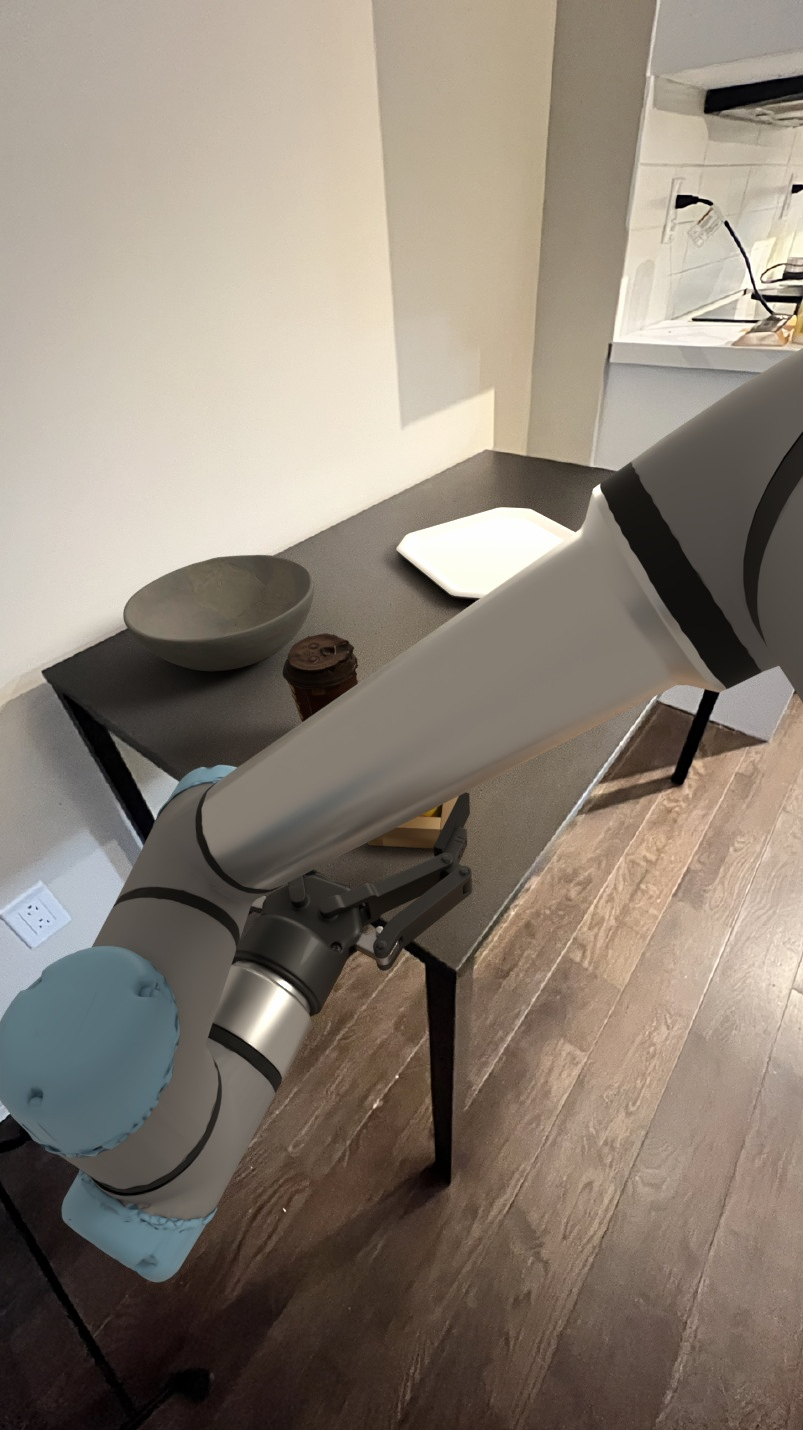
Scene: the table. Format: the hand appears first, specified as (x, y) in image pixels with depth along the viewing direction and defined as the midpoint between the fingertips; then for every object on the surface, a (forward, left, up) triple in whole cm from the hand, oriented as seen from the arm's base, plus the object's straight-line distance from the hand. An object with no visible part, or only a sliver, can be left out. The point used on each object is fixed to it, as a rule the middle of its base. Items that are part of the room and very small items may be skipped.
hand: (396, 783), depth 58 cm
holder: (-1, -3, -8) cm, 8 cm away
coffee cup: (+10, -14, -8) cm, 19 cm away
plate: (-8, -62, -8) cm, 63 cm away
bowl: (+30, -34, -8) cm, 45 cm away
